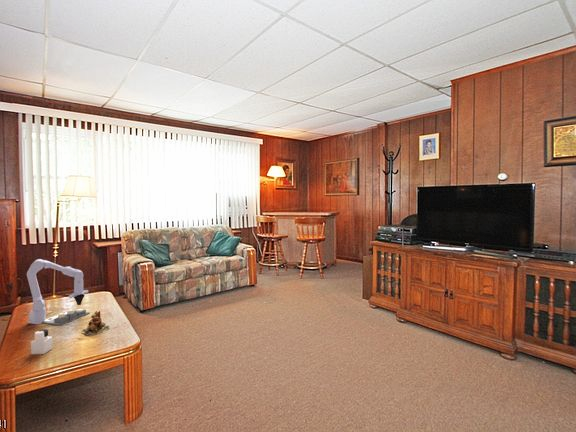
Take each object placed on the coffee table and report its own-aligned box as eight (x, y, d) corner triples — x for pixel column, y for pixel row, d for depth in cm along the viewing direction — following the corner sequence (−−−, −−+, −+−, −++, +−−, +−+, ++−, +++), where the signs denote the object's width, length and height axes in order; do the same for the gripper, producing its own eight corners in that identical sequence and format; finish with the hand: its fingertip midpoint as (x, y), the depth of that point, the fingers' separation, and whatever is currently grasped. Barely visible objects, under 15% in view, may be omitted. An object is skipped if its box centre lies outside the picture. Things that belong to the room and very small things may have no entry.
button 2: (74, 314, 231) (74, 310, 231) (79, 312, 235) (79, 308, 234) (79, 314, 230) (79, 310, 230) (83, 313, 234) (83, 309, 233)
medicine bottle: (39, 348, 179) (39, 328, 179) (52, 348, 180) (52, 327, 180) (30, 354, 172) (30, 333, 172) (44, 354, 173) (43, 333, 172)
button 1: (56, 318, 217) (56, 314, 217) (61, 316, 221) (61, 312, 221) (60, 319, 216) (60, 315, 216) (66, 317, 220) (66, 313, 220)
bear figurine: (77, 333, 201) (76, 315, 200) (99, 325, 214) (98, 307, 214) (91, 337, 195) (90, 318, 195) (112, 328, 209) (112, 310, 209)
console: (39, 322, 217) (38, 318, 217) (70, 311, 240) (70, 306, 240) (59, 325, 213) (58, 320, 213) (89, 313, 236) (89, 309, 236)
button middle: (65, 315, 224) (65, 311, 224) (71, 313, 228) (70, 309, 228) (70, 315, 223) (70, 311, 223) (75, 313, 227) (75, 309, 227)
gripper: (74, 289, 223) (74, 308, 224) (91, 284, 237) (91, 302, 238) (66, 289, 225) (66, 307, 226) (84, 284, 239) (84, 301, 240)
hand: (79, 304), depth 232 cm, fingers closed
